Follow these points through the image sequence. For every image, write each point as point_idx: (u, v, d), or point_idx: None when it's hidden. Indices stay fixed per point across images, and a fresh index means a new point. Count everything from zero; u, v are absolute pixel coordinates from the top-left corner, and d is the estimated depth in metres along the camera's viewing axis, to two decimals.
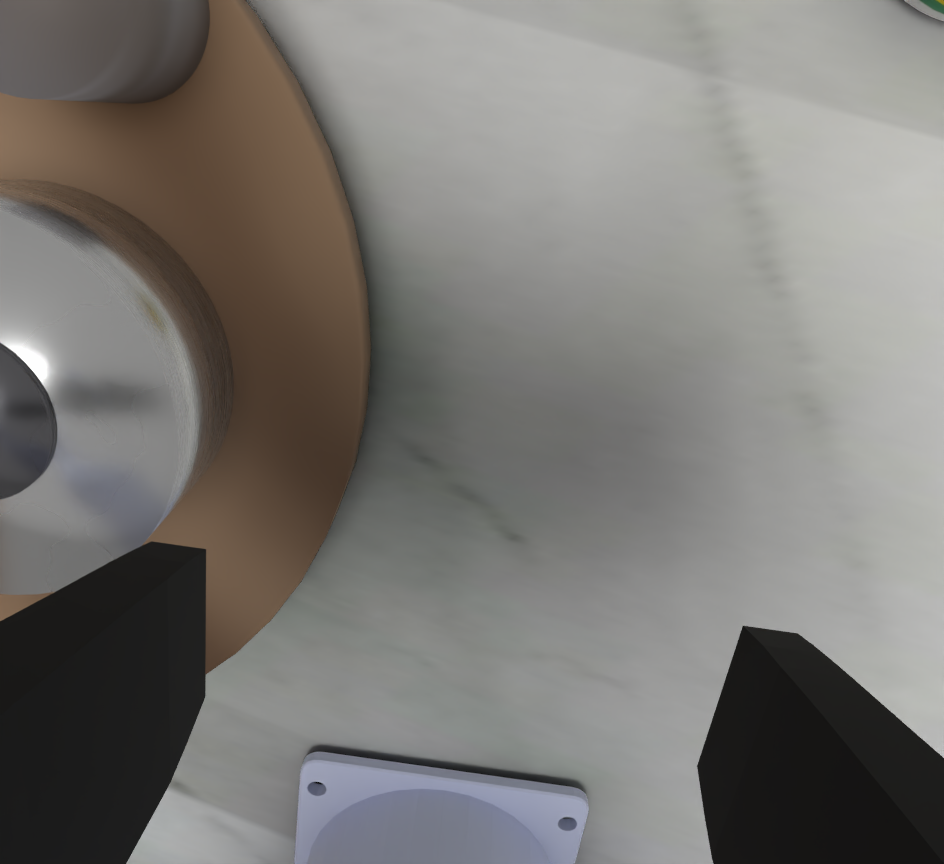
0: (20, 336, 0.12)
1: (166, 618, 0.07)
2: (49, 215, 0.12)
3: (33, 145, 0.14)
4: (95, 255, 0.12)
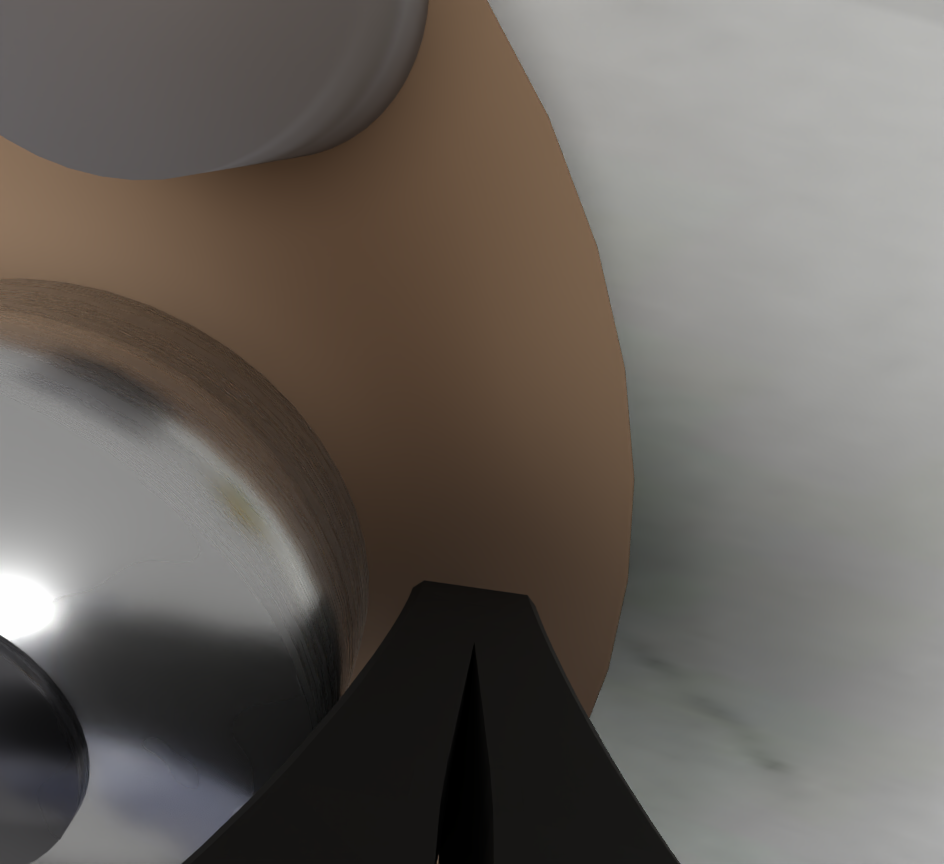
0: (20, 615, 0.06)
1: None
2: (75, 378, 0.06)
3: (96, 230, 0.08)
4: (166, 457, 0.06)
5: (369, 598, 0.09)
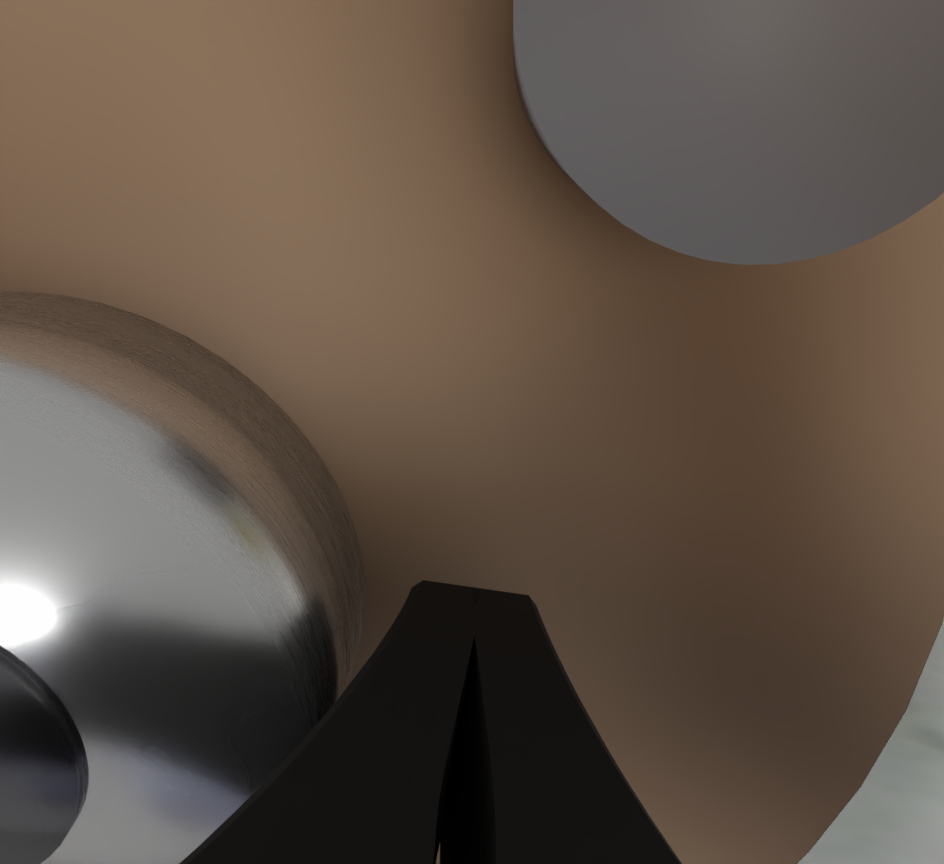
0: (19, 625, 0.06)
1: None
2: (74, 394, 0.06)
3: (463, 280, 0.08)
4: (163, 470, 0.06)
5: (675, 640, 0.09)
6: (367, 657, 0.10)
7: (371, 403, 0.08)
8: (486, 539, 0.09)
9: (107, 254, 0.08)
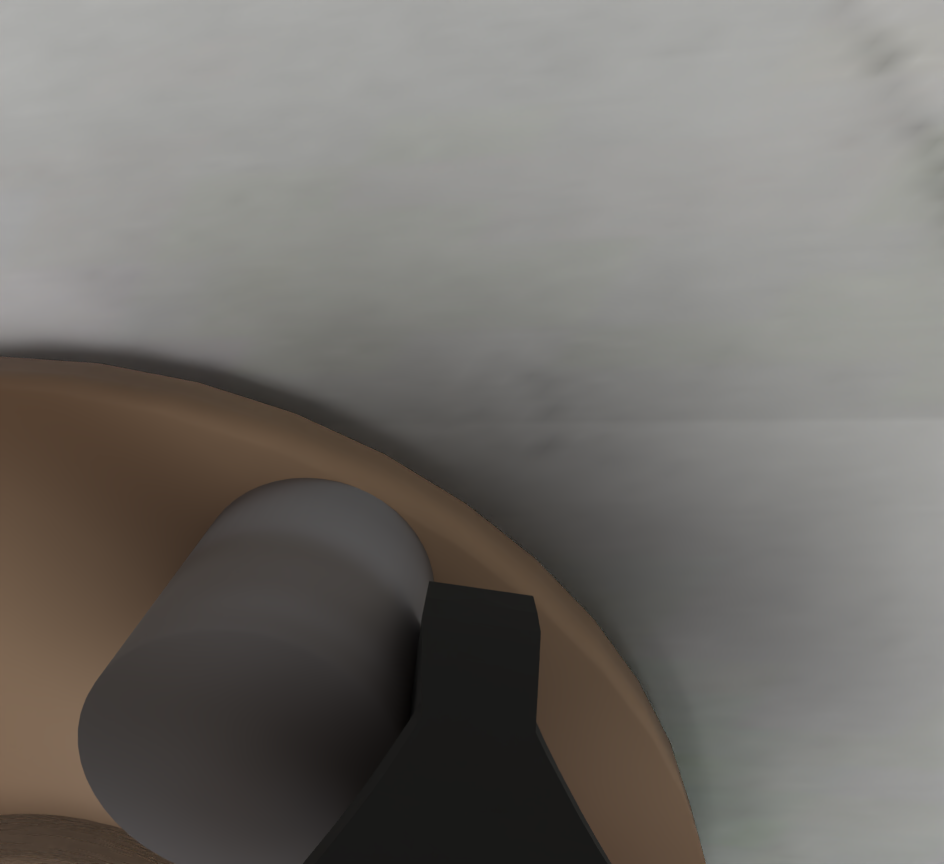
0: None
1: None
2: None
3: None
4: None
5: None
6: None
7: None
8: None
9: (16, 786, 0.11)
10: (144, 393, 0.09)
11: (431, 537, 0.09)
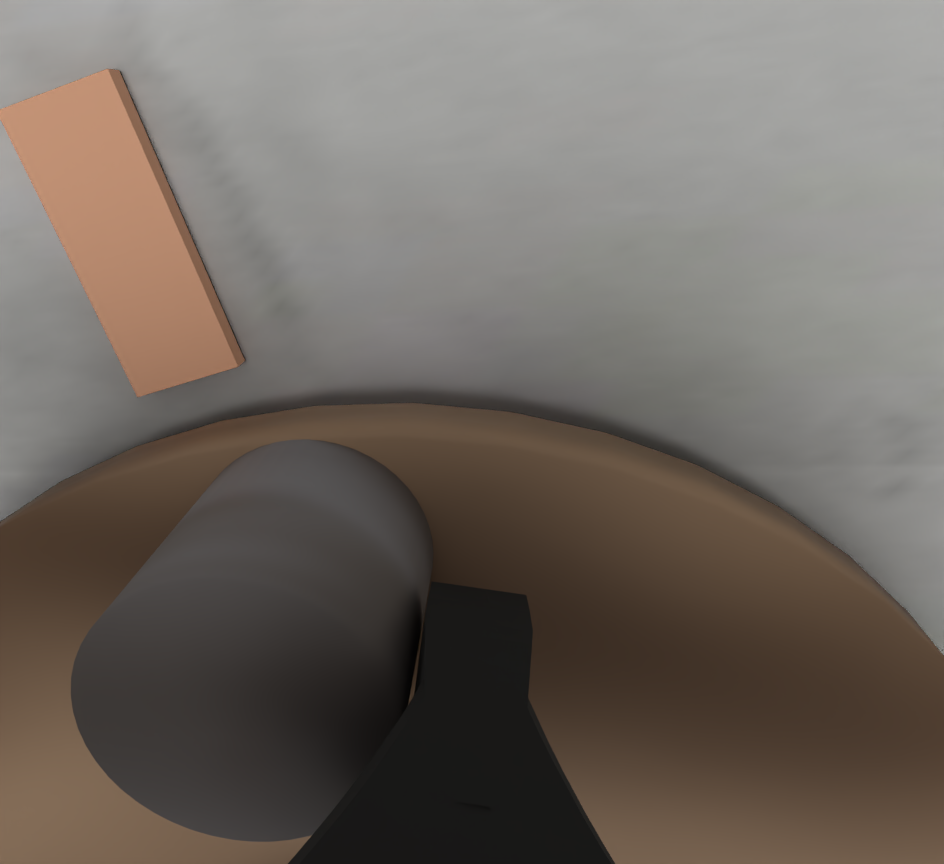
0: None
1: None
2: None
3: None
4: None
5: (737, 767, 0.11)
6: None
7: None
8: None
9: None
10: (86, 478, 0.10)
11: (369, 444, 0.09)
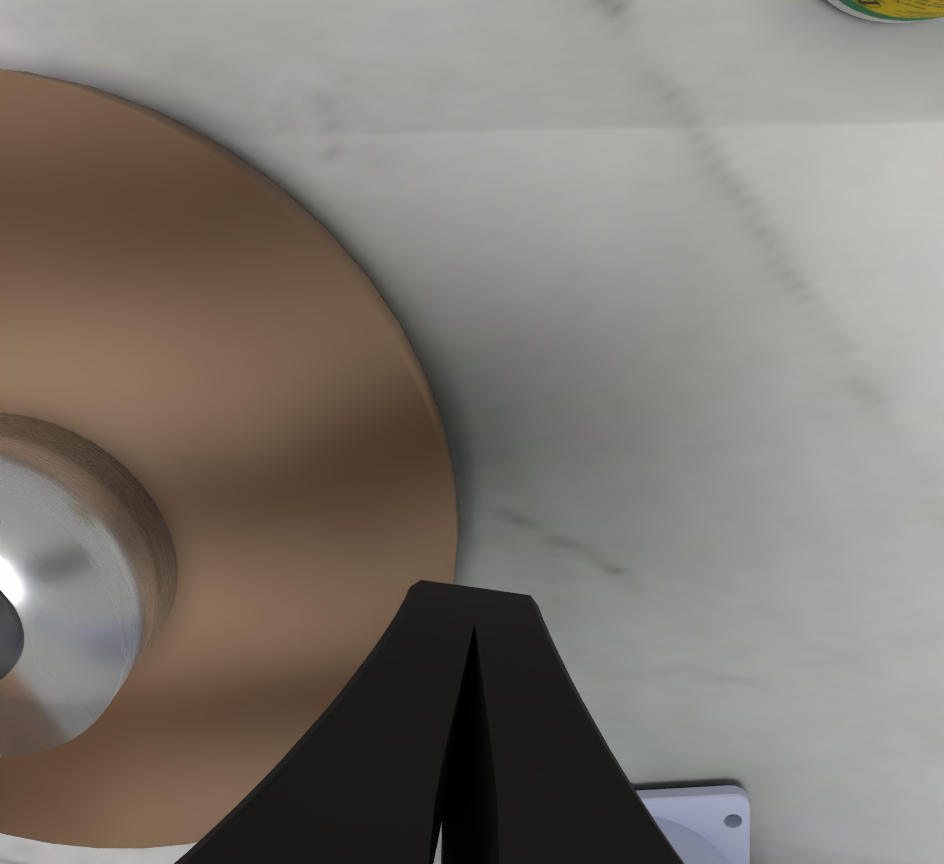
0: None
1: (467, 661, 0.07)
2: None
3: None
4: None
5: (116, 272, 0.16)
6: (102, 440, 0.17)
7: None
8: (34, 351, 0.16)
9: None
10: None
11: None
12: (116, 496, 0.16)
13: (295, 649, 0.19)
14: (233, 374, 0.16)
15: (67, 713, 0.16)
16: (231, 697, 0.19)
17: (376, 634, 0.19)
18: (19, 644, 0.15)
